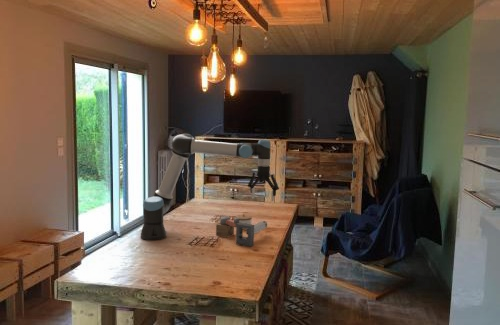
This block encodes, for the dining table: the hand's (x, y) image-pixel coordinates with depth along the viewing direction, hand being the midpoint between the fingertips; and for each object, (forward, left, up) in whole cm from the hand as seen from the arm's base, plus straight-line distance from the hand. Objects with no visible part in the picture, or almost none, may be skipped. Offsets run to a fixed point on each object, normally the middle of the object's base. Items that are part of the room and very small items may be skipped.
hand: (262, 199), depth 273 cm
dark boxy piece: (-22, 0, -23) cm, 32 cm away
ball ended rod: (-13, +15, -15) cm, 25 cm away
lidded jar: (+9, +18, -23) cm, 30 cm away
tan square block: (-11, +20, -23) cm, 32 cm away
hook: (-7, 0, -18) cm, 20 cm away
